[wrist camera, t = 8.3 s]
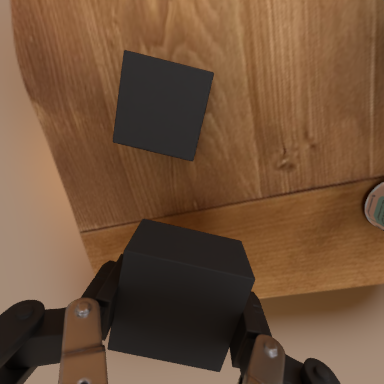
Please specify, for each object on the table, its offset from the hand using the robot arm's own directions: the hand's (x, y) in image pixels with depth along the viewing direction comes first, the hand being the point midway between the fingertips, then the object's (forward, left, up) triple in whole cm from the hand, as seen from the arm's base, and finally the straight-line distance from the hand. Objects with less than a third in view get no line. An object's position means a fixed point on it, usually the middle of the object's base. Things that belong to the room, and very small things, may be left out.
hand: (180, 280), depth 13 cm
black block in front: (0, 0, -1) cm, 1 cm away
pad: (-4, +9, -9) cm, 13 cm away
